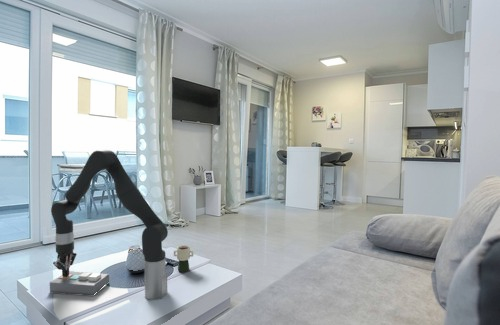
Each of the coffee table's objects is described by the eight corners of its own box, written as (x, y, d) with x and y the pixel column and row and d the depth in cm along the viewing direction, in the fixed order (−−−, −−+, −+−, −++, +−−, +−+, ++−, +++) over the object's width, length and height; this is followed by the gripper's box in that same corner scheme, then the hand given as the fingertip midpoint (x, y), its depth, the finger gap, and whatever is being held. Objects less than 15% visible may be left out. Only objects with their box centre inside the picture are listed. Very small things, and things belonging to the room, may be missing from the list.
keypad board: (109, 283, 146) (109, 273, 145) (93, 296, 134) (93, 285, 134) (68, 280, 148) (68, 271, 148) (50, 292, 136) (49, 282, 136)
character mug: (194, 267, 166) (194, 245, 165) (192, 273, 158) (192, 249, 158) (175, 267, 166) (175, 245, 165) (172, 273, 158) (171, 249, 158)
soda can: (137, 271, 160) (136, 250, 159) (125, 270, 161) (125, 249, 161) (144, 266, 167) (143, 245, 166) (133, 265, 168) (132, 244, 168)
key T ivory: (101, 281, 142) (100, 273, 141) (96, 285, 138) (95, 277, 138) (93, 281, 142) (93, 273, 142) (88, 284, 138) (88, 276, 138)
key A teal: (82, 283, 143) (81, 275, 143) (76, 286, 139) (76, 278, 139) (74, 282, 143) (74, 274, 143) (69, 286, 140) (69, 278, 139)
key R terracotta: (72, 282, 144) (72, 274, 143) (67, 286, 140) (66, 278, 140) (65, 282, 144) (65, 274, 144) (59, 285, 140) (59, 277, 140)
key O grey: (91, 281, 142) (91, 273, 142) (86, 284, 139) (86, 276, 138) (84, 280, 143) (84, 272, 142) (78, 284, 139) (78, 276, 139)
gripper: (61, 246, 134) (62, 283, 135) (81, 237, 147) (82, 270, 148) (46, 245, 134) (47, 282, 136) (67, 236, 148) (68, 269, 149)
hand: (65, 276), depth 142 cm, fingers closed
